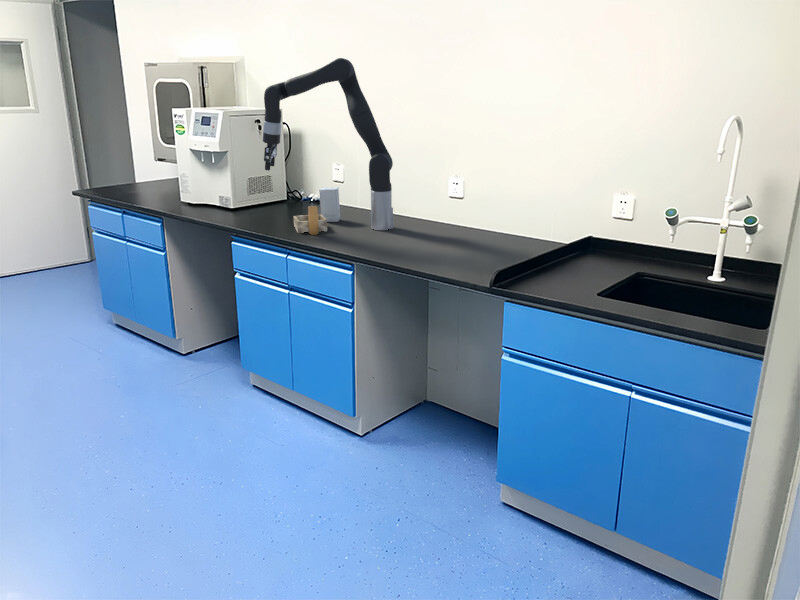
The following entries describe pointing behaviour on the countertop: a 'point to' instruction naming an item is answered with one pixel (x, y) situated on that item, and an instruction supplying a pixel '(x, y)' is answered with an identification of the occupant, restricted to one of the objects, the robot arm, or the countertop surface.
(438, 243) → the countertop surface
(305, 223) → the box
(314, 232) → the peg
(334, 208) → the skincare box
